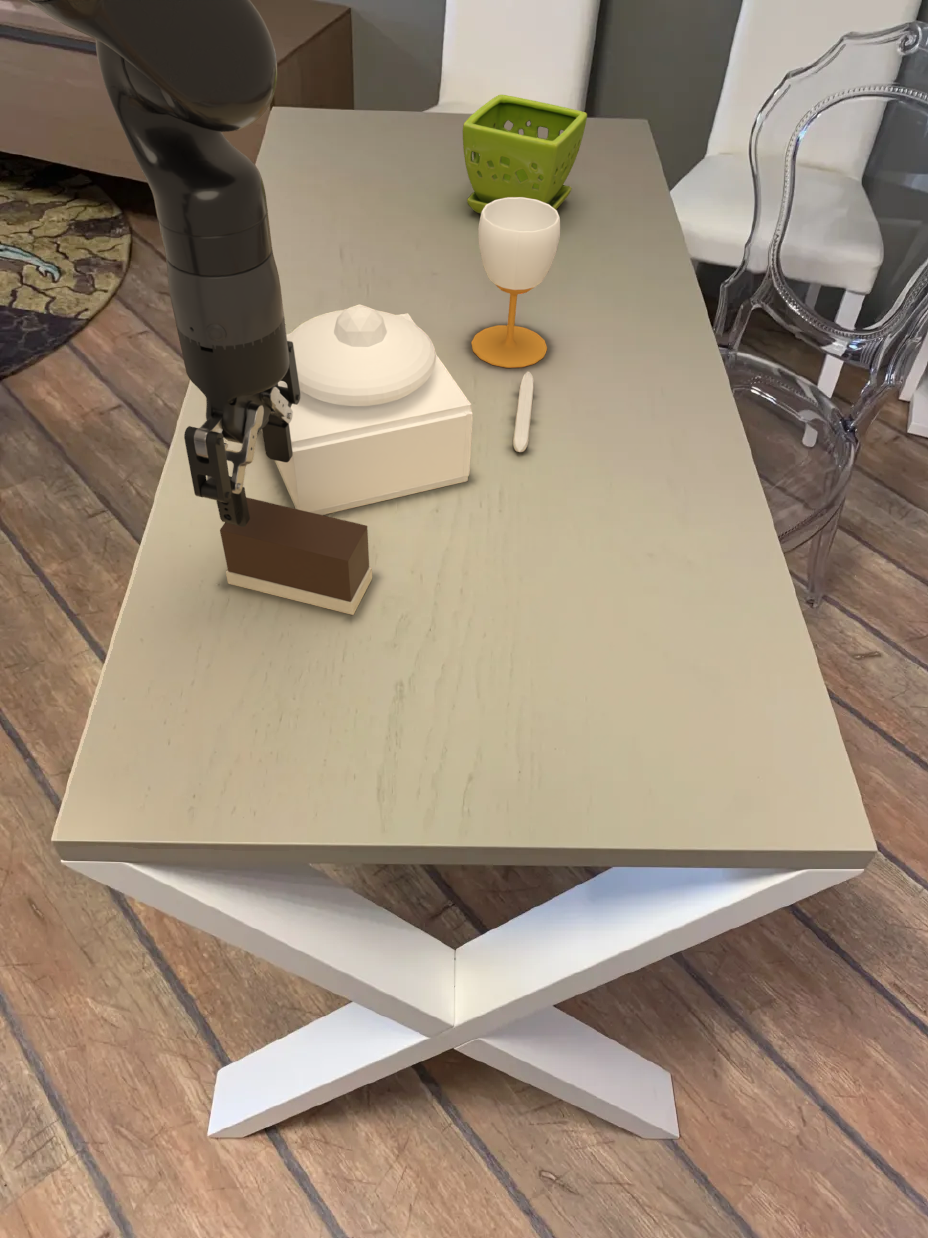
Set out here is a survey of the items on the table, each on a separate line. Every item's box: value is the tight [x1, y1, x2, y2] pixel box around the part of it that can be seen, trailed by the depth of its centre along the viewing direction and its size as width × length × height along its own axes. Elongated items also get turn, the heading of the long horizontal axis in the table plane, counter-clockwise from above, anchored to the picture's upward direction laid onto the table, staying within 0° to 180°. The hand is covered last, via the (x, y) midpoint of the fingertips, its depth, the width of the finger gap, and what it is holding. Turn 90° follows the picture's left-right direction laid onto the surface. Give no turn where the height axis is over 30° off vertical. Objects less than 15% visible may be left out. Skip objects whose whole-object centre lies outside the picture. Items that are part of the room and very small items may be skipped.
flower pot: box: [462, 94, 588, 215], centre depth 132 cm, size 14×14×13 cm
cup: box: [470, 197, 561, 369], centre depth 107 cm, size 9×9×16 cm
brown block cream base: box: [219, 496, 373, 616], centre depth 83 cm, size 12×5×6 cm, turn 74°
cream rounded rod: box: [512, 370, 535, 453], centre depth 103 cm, size 2×14×2 cm, turn 174°
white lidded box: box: [260, 303, 474, 516], centre depth 93 cm, size 18×18×16 cm
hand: (258, 489), depth 78 cm, fingers open, 8 cm apart
